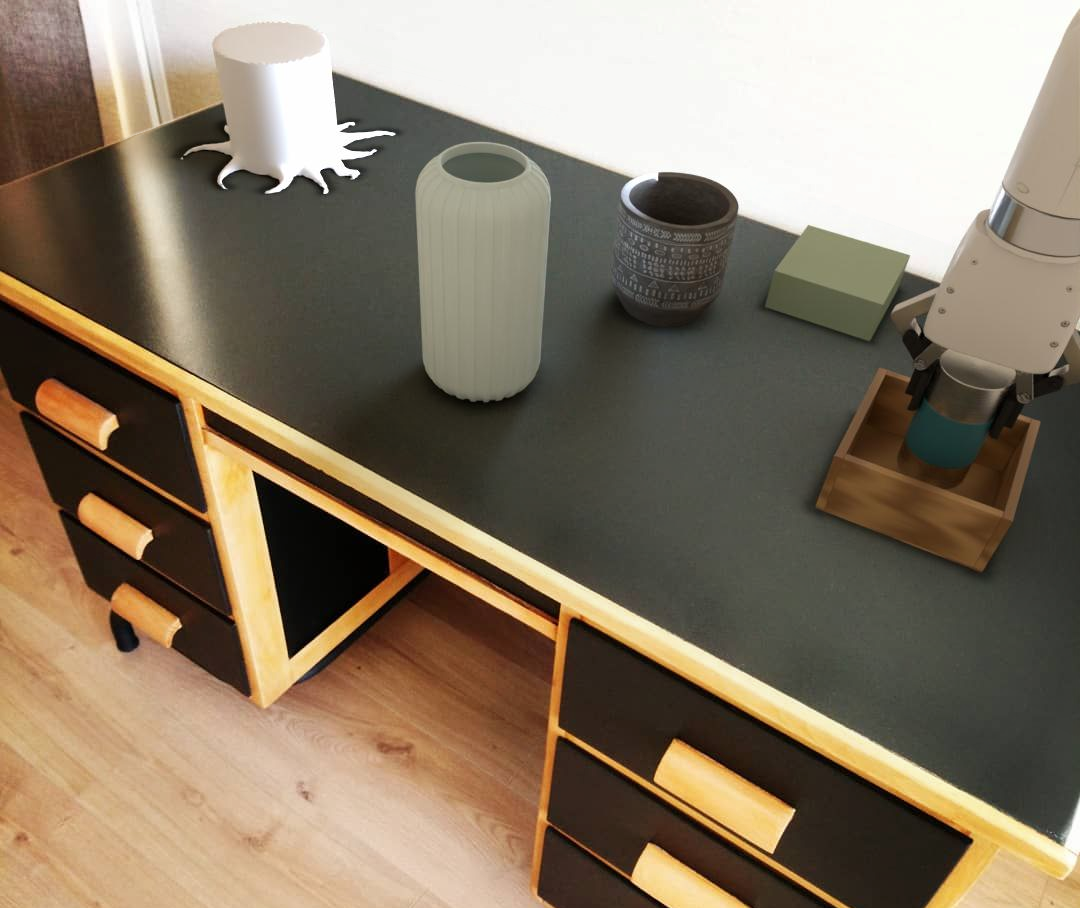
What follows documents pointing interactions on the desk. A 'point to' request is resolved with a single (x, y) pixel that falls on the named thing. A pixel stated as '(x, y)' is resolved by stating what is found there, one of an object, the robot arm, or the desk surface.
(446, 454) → the desk surface
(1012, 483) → the wooden box
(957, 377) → the tea tin
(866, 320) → the stand
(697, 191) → the planter
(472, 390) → the vase
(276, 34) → the white tree stump model
